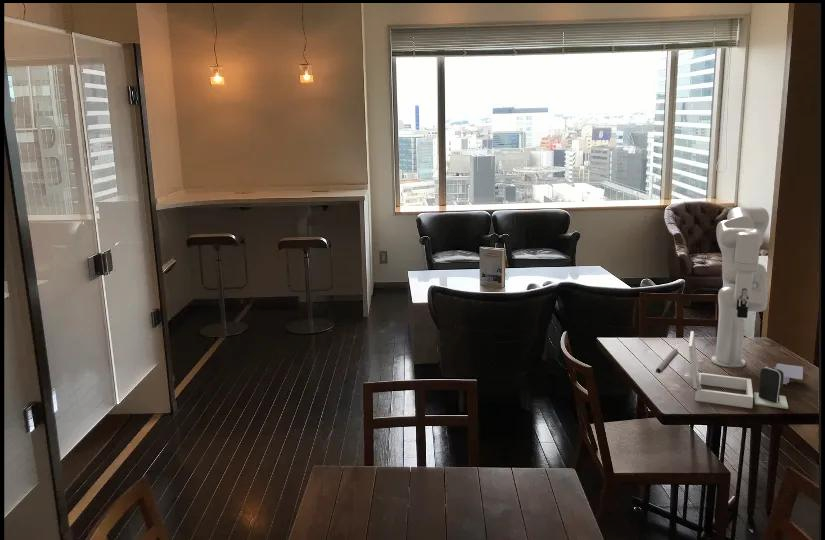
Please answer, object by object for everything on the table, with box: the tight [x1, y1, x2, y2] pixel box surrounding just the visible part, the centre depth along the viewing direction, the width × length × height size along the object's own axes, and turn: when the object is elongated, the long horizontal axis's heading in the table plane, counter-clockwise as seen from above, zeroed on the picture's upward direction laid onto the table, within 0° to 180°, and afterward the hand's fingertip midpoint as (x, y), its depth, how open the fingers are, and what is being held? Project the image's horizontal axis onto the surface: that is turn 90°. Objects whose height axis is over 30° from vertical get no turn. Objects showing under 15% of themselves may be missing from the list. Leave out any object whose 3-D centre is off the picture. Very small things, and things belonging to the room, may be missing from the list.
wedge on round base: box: [775, 363, 804, 385], centre depth 249 cm, size 9×7×13 cm
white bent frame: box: [688, 330, 754, 409], centre depth 237 cm, size 18×21×20 cm
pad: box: [753, 391, 789, 409], centre depth 232 cm, size 10×10×1 cm
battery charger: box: [758, 366, 784, 403], centre depth 231 cm, size 7×4×11 cm, turn 29°
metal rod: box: [655, 348, 679, 373], centre depth 272 cm, size 2×27×2 cm, turn 146°
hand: (741, 313), depth 238 cm, fingers open, 9 cm apart
